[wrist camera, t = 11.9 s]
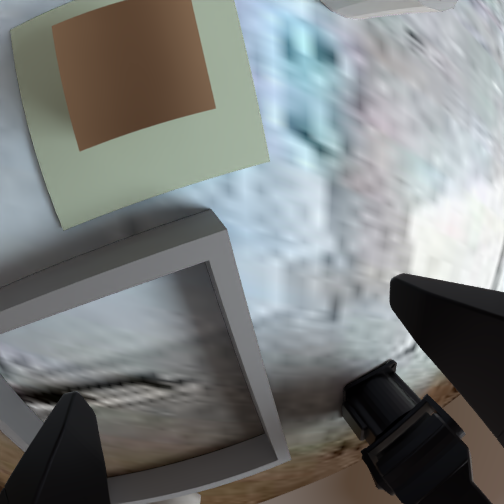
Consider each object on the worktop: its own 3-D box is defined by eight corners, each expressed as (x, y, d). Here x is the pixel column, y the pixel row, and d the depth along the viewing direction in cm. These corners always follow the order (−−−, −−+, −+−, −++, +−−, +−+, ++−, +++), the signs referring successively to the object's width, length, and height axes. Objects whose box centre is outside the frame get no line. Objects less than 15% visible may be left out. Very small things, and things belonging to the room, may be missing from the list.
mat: (223, -31, 12) (225, -34, 12) (267, 160, 18) (270, 161, 18) (12, 31, 10) (10, 30, 10) (64, 228, 15) (63, 230, 15)
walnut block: (169, 33, 13) (188, -14, 7) (188, 112, 15) (216, 108, 9) (84, 59, 12) (51, 26, 6) (103, 139, 14) (79, 151, 9)
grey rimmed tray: (211, 209, 18) (227, 229, 15) (278, 434, 29) (291, 459, 26) (-54, 312, 14) (-73, 342, 11) (103, 483, 25) (106, 509, 22)
